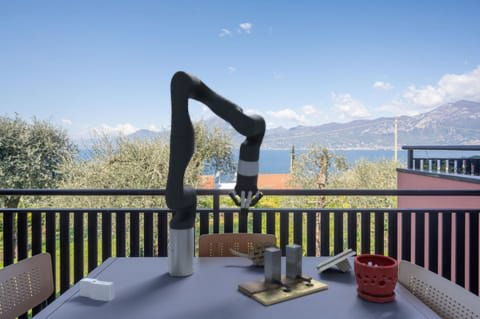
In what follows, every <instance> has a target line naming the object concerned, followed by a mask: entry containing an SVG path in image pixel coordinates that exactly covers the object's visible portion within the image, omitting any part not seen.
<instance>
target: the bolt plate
mask: <svg viewBox="0 0 480 319" xmlns="http://www.w3.org/2000/svg"><path fill="white" fill-rule="evenodd" d="M289 286H290V288H289V289H288V288H286V287H280V288H276V289H273V290H269V291H265V292H261V293H257V294H253V297H252V299H254V300H256V301H258V302H259V303H261V304H262V305H264V306H266V307H267V306H270V305H273V304H277V303H280V302H281V303H282V302H284V301H288V300H292V299H294V298H298V297H301V296H305V295H309V294H312V293H316V292H320V291H323V290H327V289H329V287H328V286H329V285H328V284H326V283H323V282H320V281H319V280H316V279H313V278H312V280H311V283H308V282H306V281H304V282H300V283H296V284H292V285H289Z"/></svg>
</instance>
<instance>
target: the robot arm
mask: <svg viewBox="0 0 480 319" xmlns="http://www.w3.org/2000/svg"><path fill="white" fill-rule="evenodd" d="M169 86H170V88H169V89H170V91H169V92H170V106H171V107H170V108H171V109H170V111H171V112H170V114H171V115H170V134H169V135H170V136H169V137H170V138H169V159H168V170H167V177H166V179H167V180H166V184H165V192H164V201H165V205H166V207H167V209H169V210H170V211H175V212H176V213H175V215H174V216H173V218H171V219H170V220H169V224H168V228H169V232H168V233H169V234H168V236H169V238H168V241H169V242H168V247H167V272H168V275H169V276H170V277H188V276H190V275H193V274H194V272H195V262H194V261H195V258H194V257H195V256H194V255H195V251H194V250H195V238H194V237H195V221H196V220H197V209H198V208H197V206H198V205H197V204H198V196H197V195H198V194H197V191H196V189H195V188H194V186H192V185H190V184H184V183H185V174H186V171H187V168H188V166H189V164H190V162H191V160H192V157H193V156H194V153H195V146H196V131H195V127H194V125H193V122H192V118H191V116H190V113H189V99H191V100H194V101H197V102H199V103H201V104H203V105H205V106H206V107H208V108H209V110H210V111H211V112H212V113H213V114H215V115H216V116H217V117H218V118H220V119H222V120H223V121H225V123H228V124H230V126H231V127H232V128H233V129H234V130H235V131H236V132H237V133H238V134H240V135H241V136H243V137H245V139H244V141H243V142H241V144H240V145H239V152H238V154H239V155H238V161H237V167H236V168H237V169H236V181H235V186H234V188H233V189H232V190H229V191H228V197H230V199H231V200H232V202H233V203H234V204H235V206H236V207H239V208H240V210H239V215H240V217H241V218H247V217H248V216H249V209H250V208H251V207H252V208H253V207H255V205H257V203H258V202H259V201H260V200H261V199H263V198H264V193H263V192H262V191H260V190H259V187H258V179H259V172H260V150H261V146H262V144H263V142H264V138H265V134H266V129H267V124H266V120H265V118H264V117H263V116H262V115H261V114H258V113H256V114H250V115H247V114H246V113H244V110H243V108H242V107H241V106H240V105H238V104H237V103H236V102H234V101H232V100H231V99H228V98H226V97H225V96H223V95H221V94H219V93H217V91H214V90H213V89H212V88H211V87H210V86H208V85H207V84H206V83H205V82H204V81H203V80H202V79H201V78H199V77H198V76H196V74H195V75H194V74H193V73H189V72H186V71H182V70H179V71H176V72H175V73H174V74H173V75H172V77H171V79H170V84H169ZM236 195H237V196H238V198H239V199H240V201H239V199H238V198H237V197H236ZM251 199H252V200H251Z"/></svg>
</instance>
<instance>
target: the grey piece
mask: <svg viewBox="0 0 480 319" xmlns="http://www.w3.org/2000/svg"><path fill="white" fill-rule="evenodd" d="M356 254H357V252H356V251H353V249H352V248H349V249H347V250H344V251H343V252H340V253H339V254H336V255H335V256H333V257H330V258H328V259H326V260H324V261H322V262H321V263H318V264H316V267H317V268H318V270H319V272H323V271H325V270H327V269H328V268H331V267H333V266H334V265H335V266H336V267H337V268H338V269H339V270H340V271H341V272H343V273H345V272H347V271H349V270H351V269H353V267H352V265H351V263H350V262H349V260H348V259H349V258H351V257H352V256H354V255H356Z"/></svg>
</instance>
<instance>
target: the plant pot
mask: <svg viewBox="0 0 480 319" xmlns="http://www.w3.org/2000/svg"><path fill="white" fill-rule="evenodd" d="M369 263H371V264H369ZM381 264H382V265H381ZM353 271H354V280H355V283H356V284H357V287H356V289H355V291H356V293H357V294H358V296H359V297H361V298H362V299H364V300H366V301H369V302H374V303H387V302H388V303H389V302H391V301H393V300H394V299H395V298H396V291H395V289H396V286H397V284H398V280H399V276H398V275H399V274H398V273H399V261H398V260H396V259H394V258H393V257H389V256H386V255H382V254H375V253H374V254H373V253H372V254H371V253H369V254H368V253H366V254H365V253H364V254H360V255H357V256H355V257H354V258H353Z"/></svg>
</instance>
